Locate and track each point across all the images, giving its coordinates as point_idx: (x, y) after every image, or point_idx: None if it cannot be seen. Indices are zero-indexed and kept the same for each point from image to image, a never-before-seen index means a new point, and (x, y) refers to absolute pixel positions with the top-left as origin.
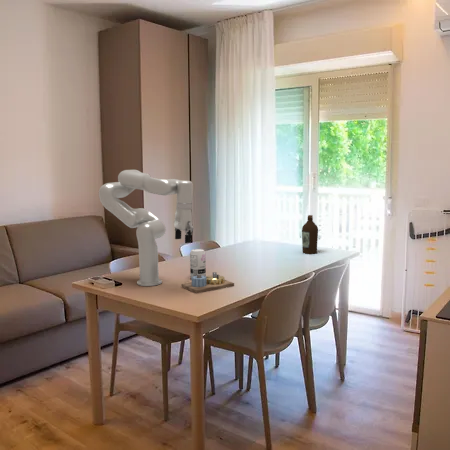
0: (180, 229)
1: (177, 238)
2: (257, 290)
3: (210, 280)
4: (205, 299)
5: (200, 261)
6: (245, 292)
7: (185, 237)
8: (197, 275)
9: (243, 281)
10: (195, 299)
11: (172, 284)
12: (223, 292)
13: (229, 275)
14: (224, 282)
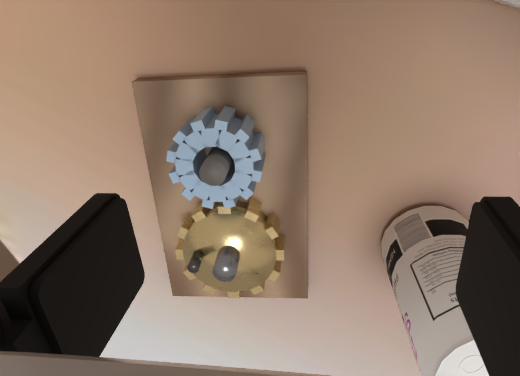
0: (58, 358)
1: (472, 234)
2: None
3: (194, 212)
4: (12, 66)
5: (406, 305)
6: None
7: (39, 248)
8: (211, 162)
9: (228, 348)
10: (28, 17)
11: (400, 48)
12: None
13: (356, 361)
14: None
